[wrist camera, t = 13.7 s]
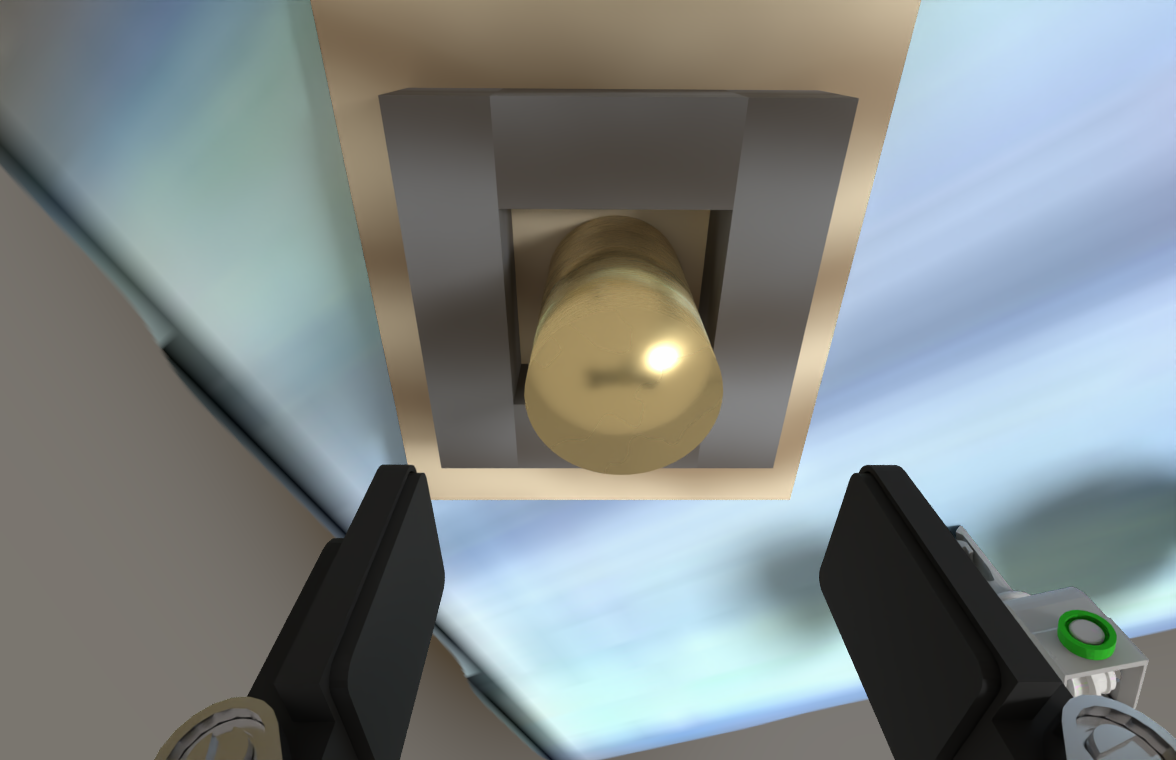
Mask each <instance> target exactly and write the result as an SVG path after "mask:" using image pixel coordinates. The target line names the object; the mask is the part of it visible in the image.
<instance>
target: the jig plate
mask: <svg viewBox="0 0 1176 760" xmlns="http://www.w3.org/2000/svg"><path fill="white" fill-rule="evenodd" d="M310 1H311V6H312V11H313V16H314V20H315V25H316V30H317V35H318V39H319V44H320V49H321V54H322V58H323V63H324V68H325V73H326V77H327V82H328V87H329V92H330V96H331V101H332V106H333V111H334V116H335V120H336V125H337V130H338V135H339V139H340V144H341V149H342V154H343V158H344V163H345V168H346V173H347V177H348V182H349V187H350V192H351V197H352V201H353V206H354V211H355V216H356V220H357V225H358V230H359V235H360V239H361V244H362V249H363V254H364V258H365V263H366V268H367V273H368V278H369V282H370V287H371V292H372V297H373V301H374V306H375V311H376V316H377V320H378V325H379V330H380V335H381V339H382V344H383V349H384V354H385V358H386V363H387V368H388V373H389V378H390V382H391V387H392V392H393V397H394V401H395V406H396V411H397V416H398V420H399V425H400V430H401V435H402V439H403V444H404V449H405V454H406V459H407V463H408V465H414V466H415V468H416V471H417V473H425V475H426V477H427V482H428V487H429V492H430V498H431V500H790V497H791V493H792V489H793V486H794V482H795V478H796V474H797V470H798V467H799V463H800V459H801V455H802V451H803V448H804V444H805V440H806V436H807V432H808V429H809V425H810V421H811V417H812V413H813V410H814V406H815V402H816V398H817V394H818V390H819V387H820V383H821V379H822V375H823V371H824V368H825V364H826V360H827V356H828V352H829V349H830V345H831V341H832V337H833V333H834V330H835V326H836V322H837V318H838V314H839V311H840V307H841V303H842V299H843V295H844V292H845V288H846V284H847V280H848V276H849V273H850V269H851V265H852V261H853V257H854V254H855V250H856V246H857V242H858V238H859V235H860V231H861V227H862V223H863V219H864V216H865V212H866V208H867V204H868V200H869V197H870V193H871V189H872V185H873V181H874V177H875V174H876V170H877V166H878V162H879V158H880V155H881V151H882V147H883V143H884V139H885V136H886V132H887V128H888V124H889V120H890V117H891V113H892V109H893V105H894V101H895V98H896V94H897V90H898V86H899V82H900V79H901V75H902V71H903V67H904V63H905V60H906V56H907V52H908V48H909V44H910V41H911V37H912V33H913V29H914V25H915V22H916V18H917V14H918V10H919V6H920V3H921V0H310ZM609 215H621V216H629V217H633V218H637V219H639V220H642V221H645V222H646V223H648V224H650V225H652V226H653V227H655V228H656V229H657V230H659V231H660V232H661V233H662V234H663V235H664V236H665V237H666V238H667V239H668V241H669V242H670V243H671V245H672V247H673V248H674V250H675V252H676V255H677V257H678V260H679V262H680V265H681V268H682V270H683V273H684V276H685V278H686V281H687V283H688V286H689V289H690V291H691V294H692V297H693V299H694V302H695V305H696V307H697V310H698V312H699V315H700V318H701V320H702V323H703V326H704V328H705V331H706V333H707V336H708V339H709V341H710V344H711V347H712V349H713V352H714V354H715V357H716V360H717V362H718V365H719V368H720V370H721V375H722V380H723V398H722V404H721V408H720V412H719V415H718V417H717V419H716V422H715V424H714V425H713V427H712V429H711V430H710V432H709V433H708V435H707V436H706V437H705V438H704V440H703V441H702V442H701V443H700V444H699V445H698V446H697V447H696V448H695V449H694V450H692V451H691V452H690V453H688V454H687V455H686V456H684V457H683V458H681V459H679V460H677V461H676V462H674V463H672V464H669V465H667V466H665V467H663V468H659V469H656V470H653V471H649V472H645V473H640V474H631V475H612V474H603V473H598V472H593V471H590V470H586V469H583V468H580V467H578V466H576V465H573V464H571V463H569V462H568V461H566V460H564V459H562V458H561V457H560V456H558V455H557V454H555V453H554V452H553V451H552V450H551V449H550V448H548V447H547V446H546V445H545V444H544V442H543V441H542V440H541V439H540V438H539V436H538V435H537V433H536V432H535V430H534V428H533V427H532V424H531V422H530V420H529V418H528V414H527V410H526V407H525V397H524V393H525V382H526V377H527V372H528V367H529V363H530V358H531V353H532V348H533V343H534V338H535V333H536V329H537V324H538V319H539V314H540V309H541V304H542V299H543V295H544V290H545V285H546V280H547V275H548V270H549V266H550V262H551V259H552V256H553V254H554V252H555V250H556V248H557V247H558V245H559V244H560V242H561V241H562V240H563V239H564V238H565V237H566V235H567V234H568V233H570V232H571V231H572V230H573V229H575V228H576V227H578V226H579V225H581V224H583V223H585V222H587V221H589V220H592V219H595V218H598V217H603V216H609Z"/></svg>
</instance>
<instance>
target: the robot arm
mask: <svg viewBox="0 0 1176 760" xmlns="http://www.w3.org/2000/svg"><path fill="white" fill-rule="evenodd" d="M819 581H820V587H821V590H822V593H823V595H824V597H825V599H826V602H827V604H828V606H829V609H830V611H831V613H832V616H833V618H834V620H835V623H836V625H837V627H838V629H839V632H840V634H841V636H842V639H843V641H844V643H845V646H846V648H847V650H848V653H849V655H850V657H851V659H852V662H853V664H854V666H855V669H856V671H857V673H858V676H859V678H860V680H861V683H862V685H863V687H864V689H865V692H866V694H867V696H868V699H869V701H870V703H871V705H872V708H873V710H874V712H875V715H876V717H877V719H878V722H879V724H880V726H881V728H882V731H883V733H884V736H885V738H886V740H887V742H888V745H889V747H890V749H891V752H892V754H893V756H894V759H895V760H1176V739H1175V738H1174V737H1173V736H1172V735H1171V734H1169V732H1167V731H1166V730H1165V729H1164V728H1163V727H1162V726H1160V725H1159V724H1157V723H1156V722H1154V721H1153V720H1152V719H1150V718H1149V717H1147V716H1146V715H1144V714H1143V713H1141V712H1139V711H1137V710H1135V709H1133V708H1131V707H1129V706H1127V705H1125V704H1123V703H1122V702H1119V701H1116V700H1113V699H1109V698H1106V697H1103V696H1098V695H1080V696H1077V697H1073V696H1072V695H1071V693H1070V692H1069V691H1068V689H1067V688H1066V687H1065V685H1064V684H1063V682H1062V680H1061V679H1060V678H1059V676H1058V675H1057V674H1056V672H1055V671H1054V670H1053V668H1052V667H1051V666H1050V664H1049V663H1048V662H1047V660H1046V659H1045V658H1044V656H1043V655H1042V654H1041V652H1040V651H1039V650H1038V648H1037V647H1036V646H1035V644H1034V643H1033V642H1032V640H1031V639H1030V638H1029V636H1028V635H1027V634H1026V632H1025V631H1024V630H1023V628H1022V627H1021V626H1020V624H1019V623H1018V622H1017V620H1016V619H1015V618H1014V616H1013V615H1012V614H1011V612H1010V611H1009V610H1008V608H1007V607H1006V606H1005V604H1004V603H1003V602H1002V600H1001V599H1000V598H999V596H998V595H997V594H996V592H995V591H994V590H993V588H992V587H991V586H990V584H989V583H988V582H987V580H986V579H985V578H984V576H983V575H982V574H981V572H980V571H979V570H978V568H977V567H976V566H975V564H974V563H973V562H972V560H971V559H970V558H969V556H968V555H967V553H966V552H965V551H964V549H963V548H962V547H961V545H960V544H959V543H958V541H957V540H956V539H955V537H954V536H953V535H952V533H951V532H950V531H949V529H948V528H947V527H946V525H945V524H944V523H943V521H942V520H941V519H940V517H939V516H938V515H937V513H936V512H935V511H934V509H933V508H932V507H931V505H930V504H929V503H928V501H927V500H926V499H925V497H924V496H923V495H922V493H921V492H920V491H919V489H918V488H917V487H916V485H915V484H914V483H913V481H912V480H911V479H910V477H909V476H908V475H907V473H906V472H905V471H904V470H903V469H902V468H901V467H900V466H897V465H866V466H863V467H862V468H861V470H860V472H859V473H854V474H853V475H852V476H851V478H850V481H849V484H848V487H847V490H846V493H845V496H844V499H843V502H842V505H841V508H840V511H839V514H838V517H837V520H836V523H835V526H834V529H833V532H832V535H831V538H830V541H829V544H828V547H827V550H826V553H825V556H824V559H823V562H822V565H821V568H820V572H819ZM444 582H445V572H444V566H443V561H442V555H441V550H440V545H439V540H438V534H437V529H436V524H435V519H434V513H433V508H432V503H431V498H430V492H429V487H428V482H427V477H426V475H425V473H417V471H416V468H415V466H414V465H381V466H380V467H379V468H378V470H377V472H376V474H375V476H374V478H373V480H372V482H371V484H370V486H369V488H368V490H367V492H366V494H365V496H364V498H363V500H362V503H361V505H360V507H359V509H358V511H357V513H356V515H355V517H354V519H353V521H352V523H351V525H350V527H349V529H348V531H347V533H346V536H345V538H334V539H332V540H331V541H329V542H328V543H327V544H326V546H325V547H324V549H323V550H322V552H321V554H320V556H319V558H318V560H317V562H316V564H315V566H314V568H313V570H312V572H311V574H310V576H309V578H308V580H307V581H306V583H305V585H304V587H303V589H302V591H301V593H300V595H299V597H298V599H297V601H296V603H295V605H294V607H293V609H292V611H291V613H290V615H289V616H288V618H287V620H286V622H285V624H284V626H283V628H282V630H281V632H280V634H279V636H278V638H277V640H276V642H275V644H274V645H273V647H272V650H271V651H270V653H269V655H268V657H267V659H266V661H265V663H264V665H263V667H262V669H261V671H260V673H259V675H258V676H257V679H256V680H255V682H254V684H253V686H252V688H251V690H250V692H249V694H248V696H247V697H236V698H230V699H227V700H224V701H221V702H218V703H215V704H212V705H211V706H209V707H207V708H205V709H204V710H202V711H200V712H198V713H197V714H195V715H193V716H192V717H191V718H190V719H189V720H187V721H186V722H185V723H184V724H183V725H181V726H180V727H179V728H178V729H177V730H176V731H175V732H174V733H173V734H172V735H171V737H170V738H169V739H168V740H167V741H166V743H165V744H164V745H163V746H162V747H161V749H160V750H159V752H158V754H157V756H156V758H155V759H154V760H400V757H401V752H402V749H403V745H404V741H405V737H406V733H407V729H408V726H409V722H410V718H411V714H412V710H413V706H414V702H415V699H416V695H417V691H418V687H419V683H420V679H421V675H422V671H423V667H424V664H425V659H426V656H427V652H428V648H429V644H430V640H431V636H432V633H433V629H434V625H435V621H436V617H437V613H438V609H439V605H440V601H441V598H442V594H443V589H444Z"/></svg>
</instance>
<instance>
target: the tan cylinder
mask: <svg viewBox="0 0 1176 760" xmlns="http://www.w3.org/2000/svg"><path fill="white" fill-rule="evenodd" d="M524 397H525V407H526V410H527V414H528V418H529V420H530V422H531V424H532V427H533V428H534V430H535V432H536V433H537V435H538V436H539V438H540V439H541V440H542V441H543V442H544V444H545V445H546V446H547V447H548V448H550V449H551V450H552V451H553V452H554V453H555V454H557V455H558V456H560V457H561V458H562V459H564V460H566V461H568V462H569V463H571V464H573V465H576V466H578V467H580V468H583V469H586V470H590V471H593V472H598V473H603V474H612V475H631V474H640V473H645V472H649V471H653V470H656V469H659V468H663V467H665V466H667V465H669V464H672V463H674V462H676V461H677V460H679V459H681V458H683V457H684V456H686V455H687V454H688V453H690V452H691V451H692V450H694V449H695V448H696V447H697V446H698V445H699V444H700V443H701V442H702V441H703V440H704V438H705V437H706V436H707V435H708V433H709V432H710V430H711V429H712V427H713V425H714V424H715V422H716V419H717V417H718V415H719V412H720V408H721V404H722V398H723V380H722V375H721V370H720V368H719V365H718V362H717V360H716V357H715V354H714V352H713V349H712V347H711V344H710V341H709V339H708V336H707V333H706V331H705V328H704V326H703V323H702V320H701V318H700V315H699V312H698V310H697V307H696V305H695V302H694V299H693V297H692V294H691V291H690V289H689V286H688V283H687V281H686V278H685V276H684V273H683V270H682V268H681V265H680V262H679V260H678V257H677V255H676V252H675V250H674V248H673V247H672V245H671V243H670V242H669V241H668V239H667V238H666V237H665V236H664V235H663V234H662V233H661V232H660V231H659V230H657V229H656V228H655V227H653V226H652V225H650V224H648V223H646V222H645V221H642V220H639V219H637V218H633V217H629V216H621V215H609V216H603V217H598V218H595V219H592V220H589V221H587V222H585V223H583V224H581V225H579V226H578V227H576V228H575V229H573V230H572V231H571V232H570V233H568V234H567V235H566V237H565V238H564V239H563V240H562V241H561V242H560V244H559V245H558V247H557V248H556V250H555V252H554V254H553V256H552V259H551V262H550V266H549V270H548V275H547V280H546V285H545V290H544V295H543V299H542V304H541V309H540V314H539V319H538V324H537V329H536V333H535V338H534V343H533V348H532V353H531V358H530V363H529V367H528V372H527V377H526V382H525V393H524Z"/></svg>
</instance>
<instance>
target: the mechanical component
mask: <svg viewBox="0 0 1176 760" xmlns="http://www.w3.org/2000/svg"><path fill="white" fill-rule="evenodd" d="M956 540H957V541H958V543H959V544H960V545H961V547H962V548H963V549H964V551H965V552H966V553H967V555H968V556H969V558H970V559H971V560H972V562H973V563H974V564H975V566H976V567H977V568H978V570H979V571H980V572H981V574H982V575H983V576H984V578H985V579H986V580H987V582H988V583H989V584H990V586H991V587H992V588H993V590H994V591H995V592H996V594H997V595H998V596H999V598H1000V599H1001V600H1002V602H1003V603H1004V604H1005V606H1006V607H1007V608H1008V610H1009V611H1010V612H1011V614H1012V615H1013V616H1014V618H1015V619H1016V620H1017V622H1018V623H1019V624H1020V626H1021V627H1022V628H1023V630H1024V631H1025V632H1026V634H1027V635H1028V636H1029V638H1030V639H1031V640H1032V642H1033V643H1034V644H1035V646H1036V647H1037V648H1038V650H1039V651H1040V652H1041V654H1042V655H1043V656H1044V658H1045V659H1046V660H1047V662H1048V663H1049V664H1050V666H1051V667H1052V668H1053V670H1054V671H1055V672H1056V674H1057V675H1058V676H1059V678H1060V679H1061V680H1062V682H1063V684H1064V685H1065V687H1066V688H1067V689H1068V691H1069V692H1070V693H1071V695H1072V696H1073V697H1077V696H1080V695H1098V696H1103V697H1106V698H1109V699H1113V700H1116V701H1119V702H1122V703H1123V704H1125V705H1127V706H1129V707H1131V708H1133V709H1136V705H1137V701H1138V698H1139V694H1140V690H1141V687H1142V683H1143V679H1144V675H1145V672H1146V668H1147V664H1148V659H1147V657H1146V656H1145V655H1144V654H1143V653H1142V652H1141V651H1140V650H1139V649H1138V648H1137V647H1136V645H1135V644H1134V643H1133V642H1132V641H1131V640H1130V639H1129V638H1128V637H1127V636H1126V634H1125V633H1124V632H1123V631H1122V630H1121V629H1120V628H1119V627H1118V626H1117V625H1116V624H1115V622H1114V621H1113V620H1112V619H1111V618H1108V617H1107V616H1106V615H1105V614H1104V613H1103V612H1102V611H1101V610H1100V609H1099V608H1098V607H1097V606H1096V605H1095V603H1094V602H1093V601H1092V600H1091V599H1090V598H1089V597H1088V596H1087V595H1086V594H1085V593H1083V592H1082V591H1081V590H1079V589H1078V588H1075V587H1067V588H1063V589H1058V590H1053V591H1049V592H1044V593H1040V594H1035V595H1030V594H1028V593H1026V592H1022V591H1013V590H1012V589H1011V587H1010V586H1009V585H1008V584H1007V582H1006V581H1005V580H1004V578H1003V577H1002V576H1001V575H1000V573H999V572H998V571H997V570H996V568H995V567H994V566H993V564H992V563H991V562H990V561H989V559H988V558H987V557H986V556H985V554H984V553H983V552H982V550H981V549H980V548H979V547H978V545H977V544H976V543H975V542H974V540H973V539H972V538H971V536H970V535H969V534H968V533H967V531H966V530H965V529H964V528H963V527H962V526H959V527H958V529H957V530H956ZM1116 670H1120V672H1121V679H1118V678H1116V676H1115V671H1116Z"/></svg>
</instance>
